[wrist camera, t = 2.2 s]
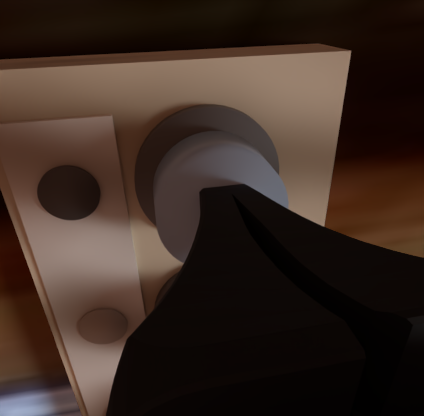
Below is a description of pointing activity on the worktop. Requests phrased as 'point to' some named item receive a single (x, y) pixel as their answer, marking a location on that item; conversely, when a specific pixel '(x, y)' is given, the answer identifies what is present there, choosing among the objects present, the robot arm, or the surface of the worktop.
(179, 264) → the button board
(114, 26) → the worktop surface
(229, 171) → the button
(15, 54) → the worktop surface
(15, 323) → the worktop surface
